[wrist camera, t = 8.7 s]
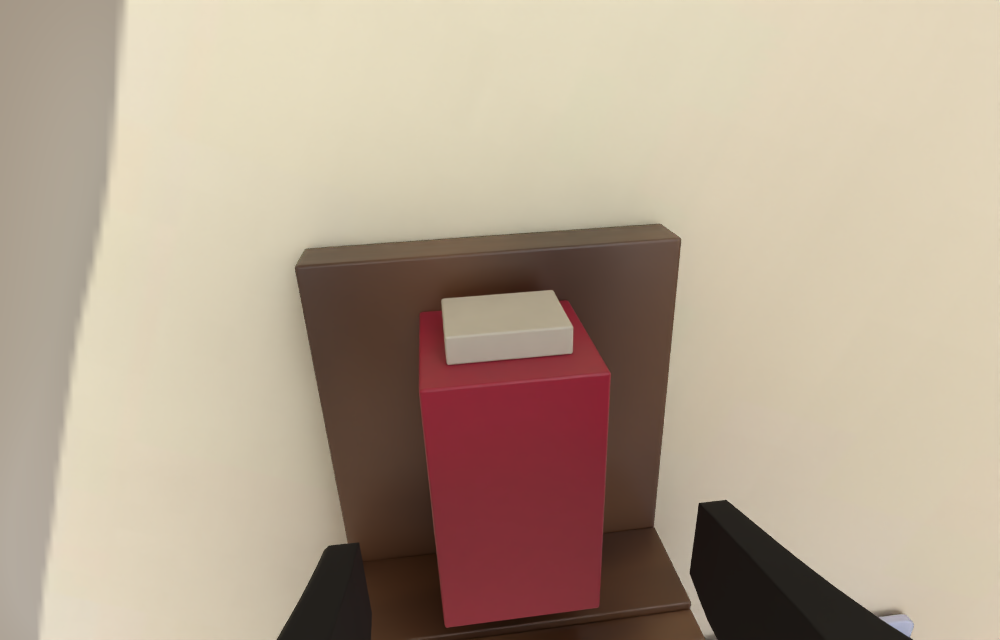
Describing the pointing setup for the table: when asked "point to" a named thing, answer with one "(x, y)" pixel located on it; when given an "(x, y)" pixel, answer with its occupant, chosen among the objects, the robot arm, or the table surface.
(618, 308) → the step shelf
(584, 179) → the table surface
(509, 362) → the red box with cap
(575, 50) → the table surface
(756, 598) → the robot arm
